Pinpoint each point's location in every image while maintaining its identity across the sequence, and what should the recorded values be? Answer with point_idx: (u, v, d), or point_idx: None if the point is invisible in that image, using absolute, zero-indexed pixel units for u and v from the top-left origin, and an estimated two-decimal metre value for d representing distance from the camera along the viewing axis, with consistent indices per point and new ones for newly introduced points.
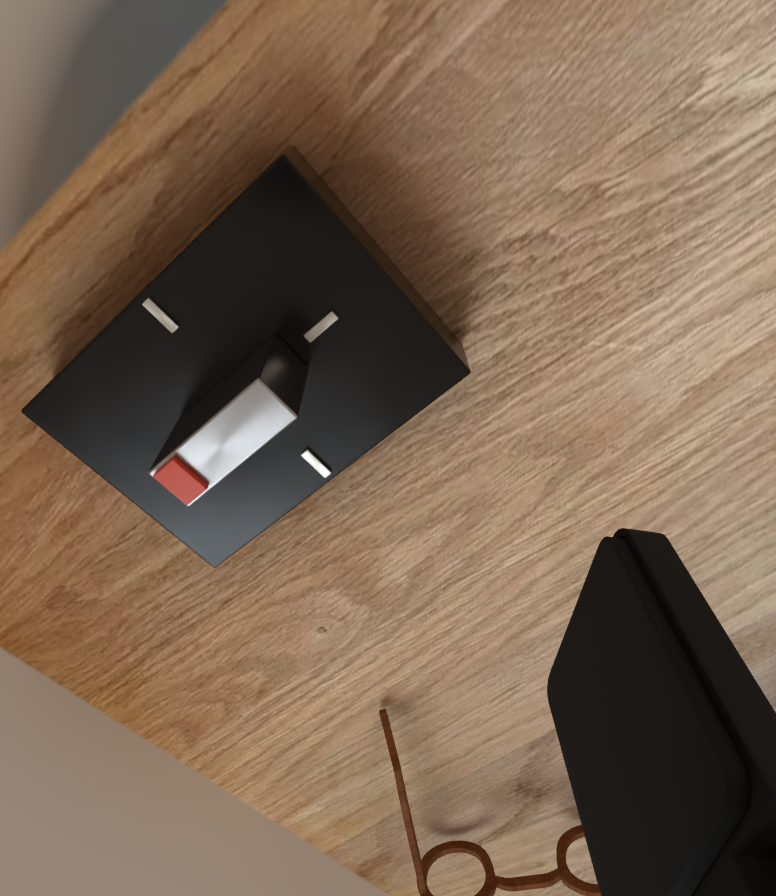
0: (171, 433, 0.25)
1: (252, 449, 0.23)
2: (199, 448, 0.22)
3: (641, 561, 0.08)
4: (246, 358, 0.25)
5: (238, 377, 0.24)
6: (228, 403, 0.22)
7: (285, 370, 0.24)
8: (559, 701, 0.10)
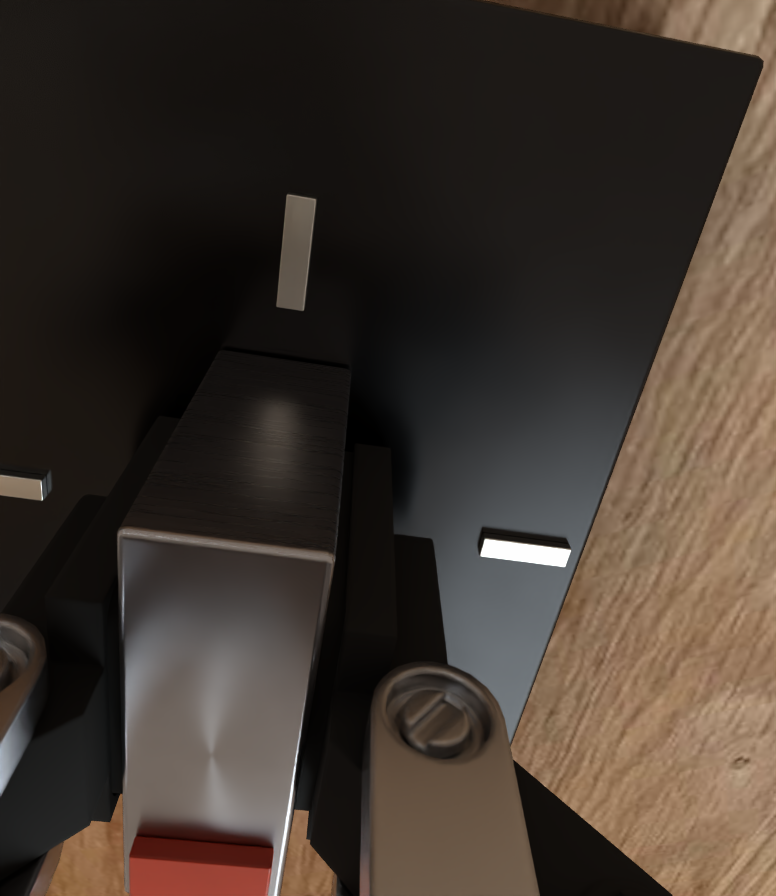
0: None
1: (293, 715, 0.07)
2: (169, 789, 0.07)
3: (354, 467, 0.09)
4: None
5: None
6: (120, 648, 0.06)
7: (259, 424, 0.08)
8: None
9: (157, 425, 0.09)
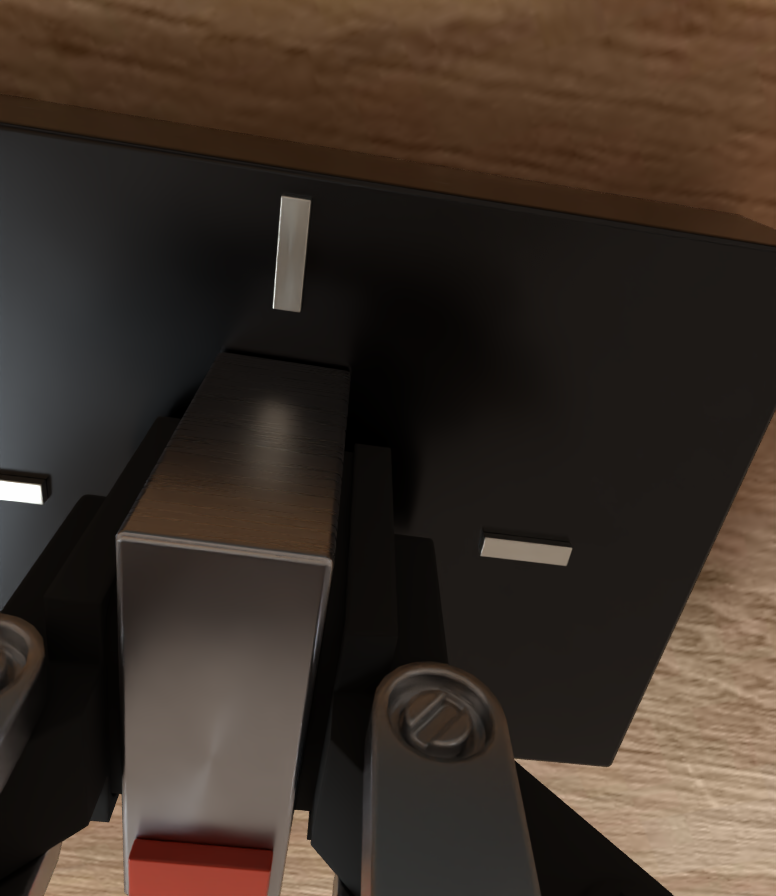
0: None
1: (292, 718, 0.07)
2: (168, 792, 0.07)
3: (354, 467, 0.09)
4: None
5: None
6: (119, 651, 0.06)
7: (259, 426, 0.08)
8: None
9: (156, 425, 0.09)
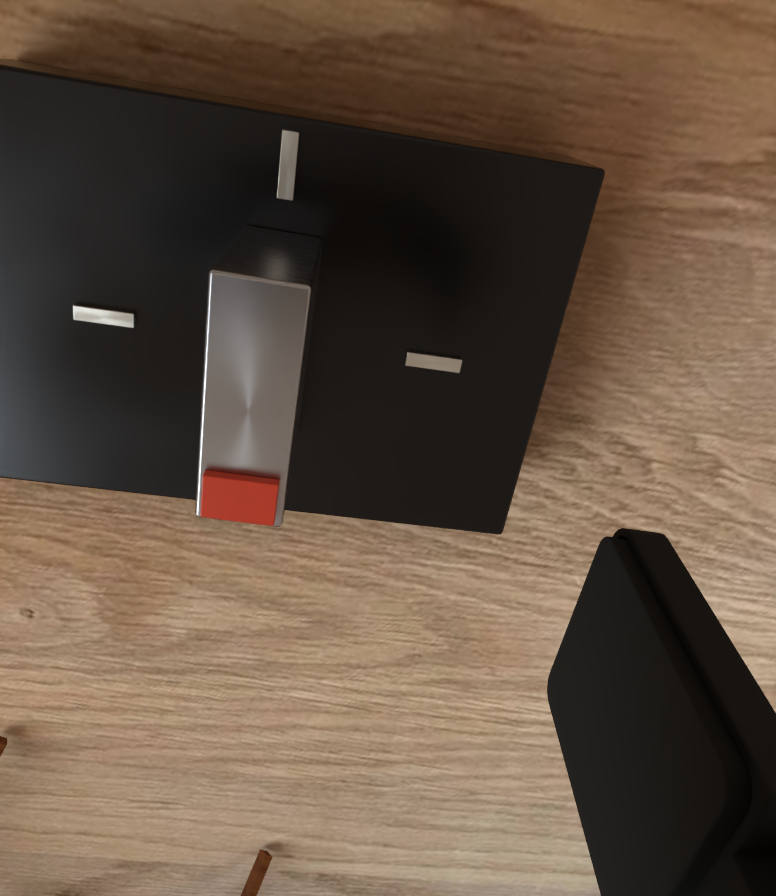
0: None
1: (291, 385, 0.13)
2: (225, 435, 0.14)
3: (641, 561, 0.08)
4: None
5: None
6: (205, 341, 0.13)
7: (271, 250, 0.14)
8: (559, 701, 0.10)
9: None
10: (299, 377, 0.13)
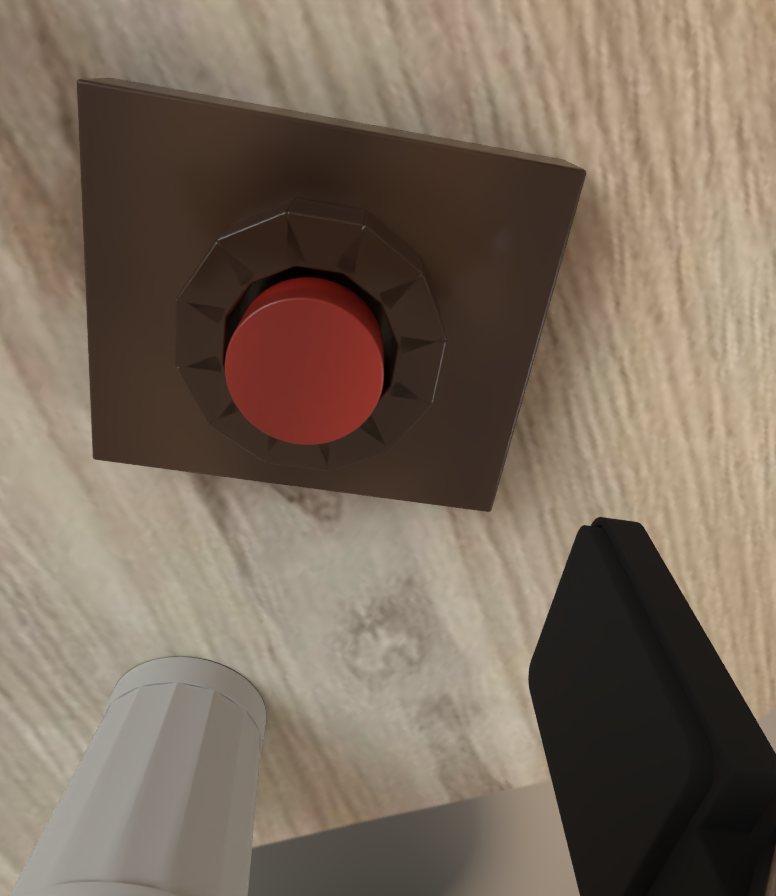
0: None
1: None
2: None
3: (616, 548, 0.09)
4: None
5: None
6: None
7: None
8: (539, 688, 0.10)
9: None
10: None
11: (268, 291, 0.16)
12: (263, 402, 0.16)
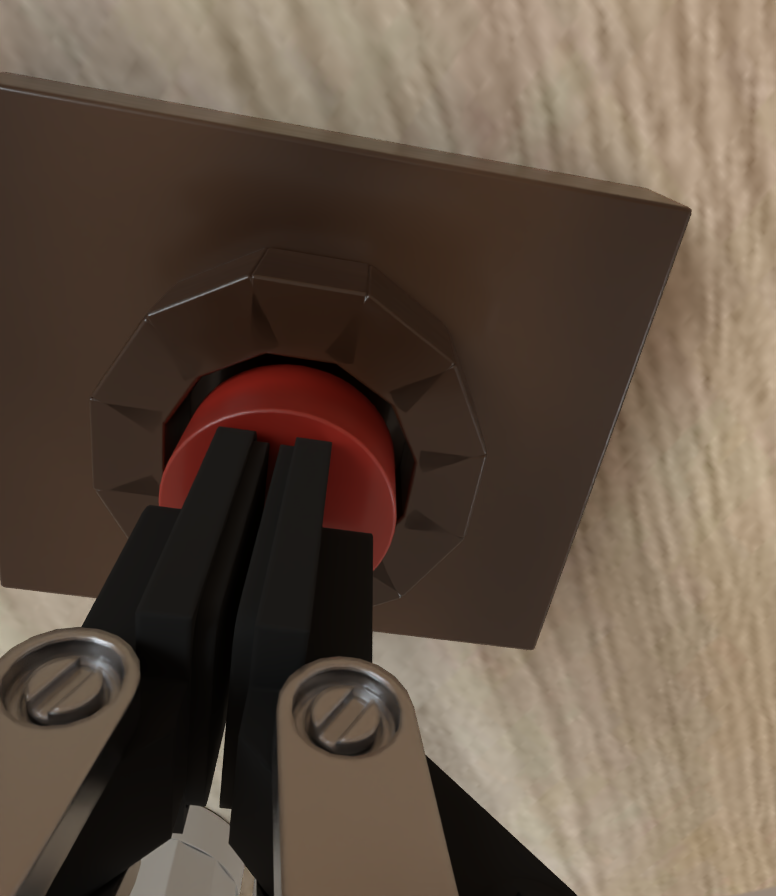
0: None
1: None
2: None
3: (291, 461, 0.09)
4: None
5: None
6: None
7: None
8: None
9: (218, 436, 0.09)
10: None
11: (225, 388, 0.11)
12: None
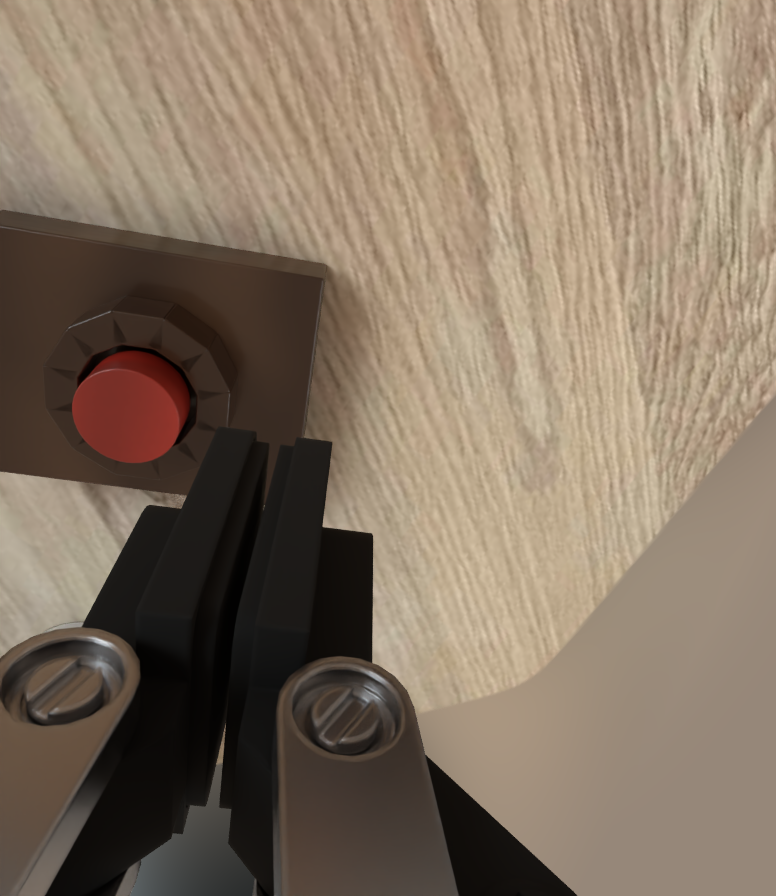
0: None
1: None
2: None
3: (292, 461, 0.09)
4: None
5: None
6: None
7: None
8: None
9: (218, 436, 0.09)
10: None
11: (103, 361, 0.24)
12: (100, 435, 0.24)
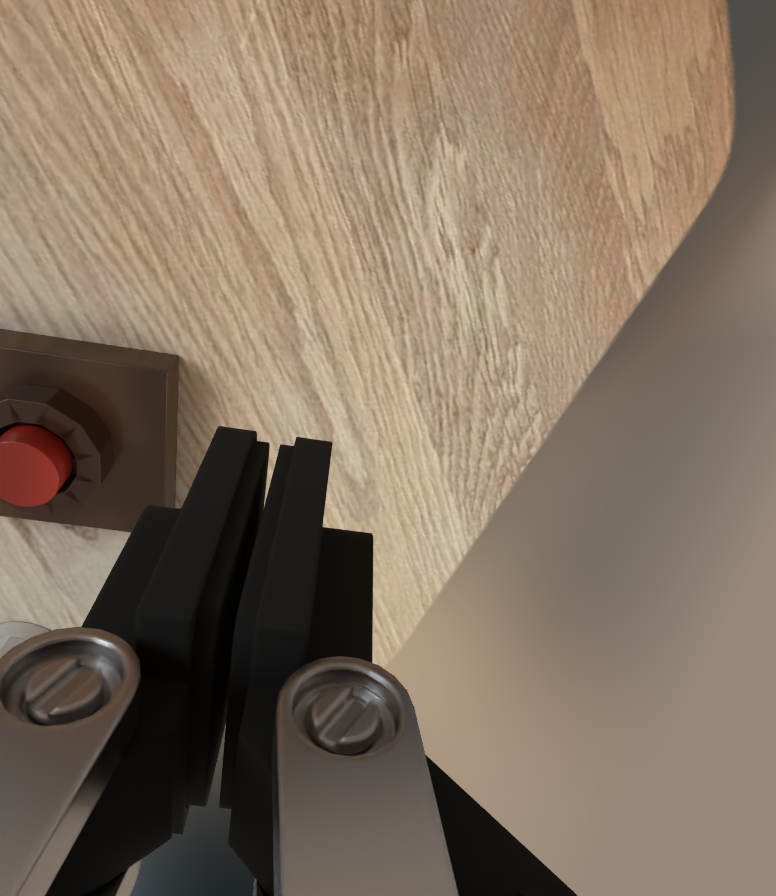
0: None
1: None
2: None
3: (291, 461, 0.09)
4: None
5: None
6: None
7: None
8: None
9: (218, 436, 0.09)
10: None
11: (4, 433, 0.33)
12: (2, 487, 0.33)
